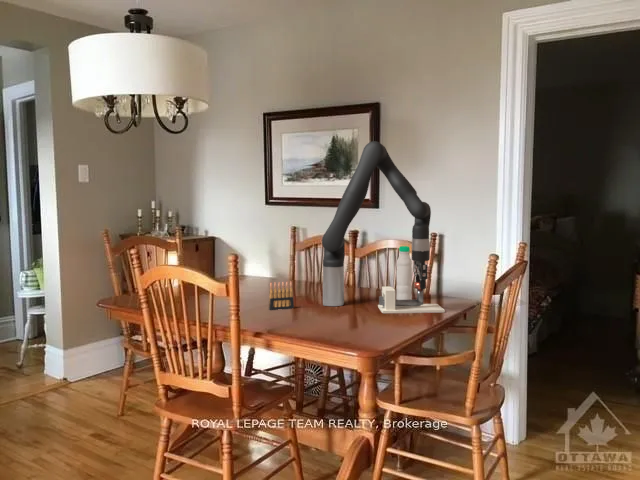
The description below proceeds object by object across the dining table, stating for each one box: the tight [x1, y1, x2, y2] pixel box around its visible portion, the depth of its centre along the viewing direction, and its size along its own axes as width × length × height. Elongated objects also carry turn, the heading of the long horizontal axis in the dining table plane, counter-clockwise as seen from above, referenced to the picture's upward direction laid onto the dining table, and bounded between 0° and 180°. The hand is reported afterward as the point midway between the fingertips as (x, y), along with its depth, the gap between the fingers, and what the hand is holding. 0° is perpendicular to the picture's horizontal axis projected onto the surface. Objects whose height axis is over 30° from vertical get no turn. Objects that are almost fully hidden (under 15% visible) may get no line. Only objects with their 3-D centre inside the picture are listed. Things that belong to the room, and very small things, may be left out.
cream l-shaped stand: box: [377, 286, 446, 314], centre depth 243 cm, size 26×13×9 cm, turn 93°
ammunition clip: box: [268, 280, 295, 311], centre depth 245 cm, size 11×2×12 cm, turn 109°
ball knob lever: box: [378, 281, 427, 307], centre depth 242 cm, size 20×5×10 cm, turn 93°
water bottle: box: [395, 245, 413, 300], centre depth 262 cm, size 7×7×25 cm
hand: (420, 287), depth 242 cm, fingers open, 8 cm apart
